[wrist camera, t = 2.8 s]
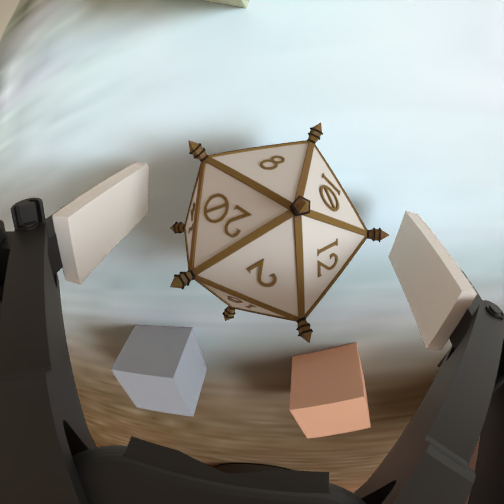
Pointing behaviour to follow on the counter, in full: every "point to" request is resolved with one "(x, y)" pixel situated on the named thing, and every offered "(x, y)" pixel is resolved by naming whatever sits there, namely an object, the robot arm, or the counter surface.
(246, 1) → the sage cube
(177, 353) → the slate cube
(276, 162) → the game die
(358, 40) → the counter surface
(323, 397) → the terracotta cube
